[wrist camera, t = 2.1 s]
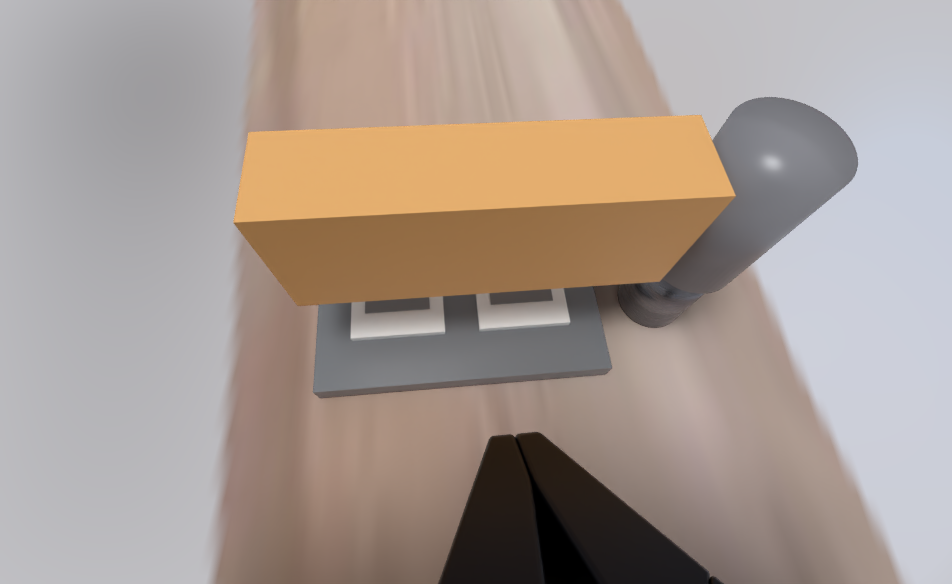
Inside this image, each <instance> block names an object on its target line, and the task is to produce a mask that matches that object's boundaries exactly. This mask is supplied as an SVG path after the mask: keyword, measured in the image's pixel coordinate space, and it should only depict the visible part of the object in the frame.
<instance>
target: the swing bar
mask: <svg viewBox="0 0 952 584" xmlns="http://www.w3.org/2000/svg"><path fill="white" fill-rule="evenodd" d="M857 167H858V157H857V153H856V150H855V147H854V145H853V143H852V141H851V139H850V138H849V137H848V135H847V134H846V132H845V131H844V130H843V129H842V128H841V127H840V126H839V125H838V124H837V123H836V122H835V121H833V120H832V119H831V118H829V117H828V116H827V115H825V114H824V113H822V112H820V111H818V110H817V109H814V108H813V107H810V106H808V105H806V104H803V103H800V102H797V101H794V100H789V99H784V98H776V97H764V98H757V99H752V100H749V101H746V102H744V103H743V104H741V105H739V106H738V107H737V108H735V110H734V111H733V112H732V113H731V114H730V116H729V117H728V119H727V120H726V122H725V123H724V125H723V126H722V127H721V129H720V130H719V132H718V133H717V135H716V136H715V138H714V139H713V140H712V139H711V137H710V135H709V132H708V130H707V128H706V126H705V123H704V121H703V118H702V116H701V115H689V116H688V115H687V116H660V117H634V118H607V119H581V120H554V121H528V122H501V123H475V124H448V125H422V126H395V127H369V128H342V129H316V130H290V131H263V132H249V134H248V139H247V145H246V151H245V157H244V163H243V169H242V175H241V181H240V186H239V192H238V198H237V204H236V210H235V216H234V224H235V225H236V227H237V228H238V229H239V231H240V232H241V233H242V234H243V236H244V237H245V238H246V240H247V241H248V242H249V243H250V245H251V246H252V247H253V249H254V250H255V251H256V253H257V254H258V255H259V256H260V258H261V259H262V260H263V262H264V263H265V264H266V266H267V267H268V268H269V269H270V271H271V272H272V273H273V275H274V276H275V277H276V278H277V280H278V281H279V282H280V284H281V285H282V286H283V288H284V289H285V290H286V291H287V293H288V294H289V295H290V297H291V298H292V299H293V300H294V302H295V303H296V304H297V306H306V305H321V304H336V303H351V302H366V301H380V300H395V299H410V298H425V297H440V296H455V295H469V294H484V293H499V292H514V291H529V290H543V289H558V288H573V287H588V286H603V285H618V284H632V283H647V282H660V281H661V280H662V279H663V280H665V281H666V282H667V283H669V284H670V285H672V286H674V287H676V288H678V289H680V290H683V291H686V292H690V293H697V294H705V293H712V292H715V291H718V290H720V289H722V288H723V287H725V286H726V285H727V284H728V283H730V282H731V281H732V280H733V279H734V278H736V277H737V276H738V275H739V274H740V273H742V272H743V271H744V270H745V269H746V268H748V267H749V266H750V265H751V264H752V263H754V262H755V261H756V260H757V259H758V258H759V257H761V256H762V255H763V254H764V253H766V252H767V251H768V250H769V249H770V248H772V247H773V246H774V245H775V244H776V243H778V242H779V241H780V240H781V239H782V238H784V237H785V236H786V235H787V234H788V233H790V232H791V231H792V230H793V229H794V228H796V227H797V226H798V225H799V224H800V223H802V222H803V221H804V220H805V219H806V218H808V217H809V216H810V215H811V214H812V213H814V212H815V211H816V210H817V209H818V208H820V207H821V206H822V205H823V204H824V203H826V202H827V201H828V200H829V199H830V198H832V197H833V196H834V195H835V194H836V193H837V192H839V191H840V190H841V189H842V188H844V187H845V186H846V185H847V184H848V183H849V182H850V181H851V180H852V179H853V177H854V176H855V174H856V171H857Z"/></svg>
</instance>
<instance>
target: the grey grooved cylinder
mask: <svg viewBox="0 0 952 584" xmlns="http://www.w3.org/2000/svg"><path fill="white" fill-rule="evenodd" d="M702 295H703V294H697V293H690V292H686V291H683V290H680V289H678V288H676V287H674V286H672V285H670V284H669V283H667V282H666V281H665V280H663V279H662V280H661V281H660V282H647V283H632V284H620V287H619V290H618V298H619V303H620V305H621V307H622V309H623V311H624V312H625V313H626V315H627V316H628V317H629V318H631V319H632V320H633V321H635V322H636V323H638V324H640V325H643V326H646V327H652V328H657V327H663V326H666V325H668V324H670V323H671V322H672V321H673V320H675V319H676V318H677V317H678V316H679V315H680V314H681V313H683V312H684V311H685V310H686V309H687V308H688V307H689V306H691V305H692V304H693V303H694V302H695V301H696V300H697V299H699V298H700V297H701V296H702Z"/></svg>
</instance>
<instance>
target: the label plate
mask: <svg viewBox="0 0 952 584" xmlns="http://www.w3.org/2000/svg"><path fill="white" fill-rule="evenodd" d="M610 369H612V365H611V361H610V356H609V352H608V348H607V343H606V339H605V335H604V331H603V326H602V322H601V318H600V313H599V309H598V305H597V300H596V296H595V292H594V288H593V286H588V287H573V288H558V289H543V290H529V291H514V292H499V293H484V294H469V295H455V296H440V297H425V298H410V299H395V300H380V301H366V302H351V303H336V304H321V305H319V308H318V324H317V339H316V355H315V370H314V386H313V393H314V394H315V395H317V396H318V397H319V398H327V397H339V396H351V395H363V394H375V393H387V392H399V391H411V390H423V389H435V388H447V387H459V386H471V385H483V384H495V383H507V382H519V381H531V380H543V379H555V378H567V377H579V376H591V375H603V374H606V373H607V372H608V371H609V370H610Z"/></svg>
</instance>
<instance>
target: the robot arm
mask: <svg viewBox="0 0 952 584" xmlns="http://www.w3.org/2000/svg"><path fill="white" fill-rule="evenodd" d="M438 584H724V583H722V582H721V581H720V580H719V579H717V578H716V577H714V576H712V577H710V574H709V572H708V571H707V570H706V569H705V568H704V567H703V566H701V565H700V564H699V563H698V562H696V561H695V560H694V559H693V558H692V557H690V556H689V555H688V554H687V553H686V552H684V551H683V550H682V549H681V548H679V547H678V546H677V545H676V544H675V543H673V542H672V541H671V540H670V539H669V538H667V537H666V536H665V535H664V534H662V533H661V532H660V531H659V530H658V529H656V528H655V527H654V526H653V525H652V524H650V523H649V522H648V521H647V520H645V519H644V518H643V517H642V516H641V515H639V514H638V513H637V512H636V511H635V510H633V509H632V508H631V507H630V506H628V505H627V504H626V503H625V502H624V501H622V500H621V499H620V498H619V497H618V496H616V495H615V494H614V493H613V492H611V491H610V490H609V489H608V488H607V487H605V486H604V485H603V484H602V483H601V482H599V481H598V480H597V479H596V478H595V477H593V476H592V475H591V474H590V473H588V472H587V471H586V470H585V469H584V468H582V467H581V466H580V465H579V464H578V463H576V462H575V461H574V460H573V459H571V458H570V457H569V456H568V455H567V454H565V453H564V452H563V451H562V450H561V449H559V448H558V447H557V446H556V445H554V444H553V443H552V442H551V441H550V440H548V439H547V438H546V437H545V436H544V435H542V434H541V433H539V432H531V433H521V434H517V435H516V437H514V436H513V435H499V436H492V437H490V439H489V441H488V444H487V446H486V449H485V452H484V455H483V458H482V461H481V464H480V466H479V469H478V472H477V475H476V478H475V481H474V483H473V486H472V489H471V492H470V495H469V498H468V501H467V503H466V506H465V509H464V512H463V515H462V518H461V520H460V523H459V526H458V529H457V532H456V535H455V538H454V540H453V543H452V546H451V549H450V552H449V555H448V557H447V560H446V563H445V566H444V569H443V572H442V574H441V577H440V580H439V583H438Z"/></svg>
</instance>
